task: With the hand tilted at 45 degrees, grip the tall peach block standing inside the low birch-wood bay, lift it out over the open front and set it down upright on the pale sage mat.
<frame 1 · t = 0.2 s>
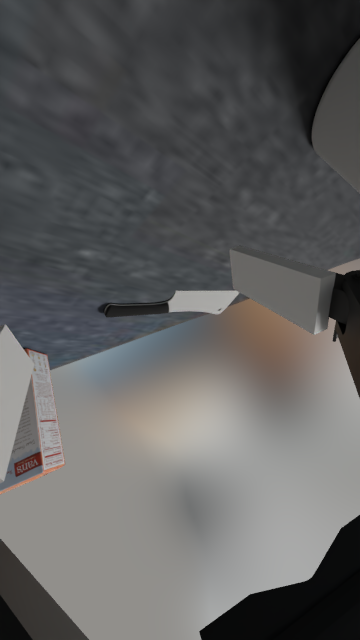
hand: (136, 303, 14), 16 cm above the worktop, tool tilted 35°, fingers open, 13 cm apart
cracker box: (6, 364, 45), on the worktop
kitchen cleaver: (180, 297, 49), on the worktop
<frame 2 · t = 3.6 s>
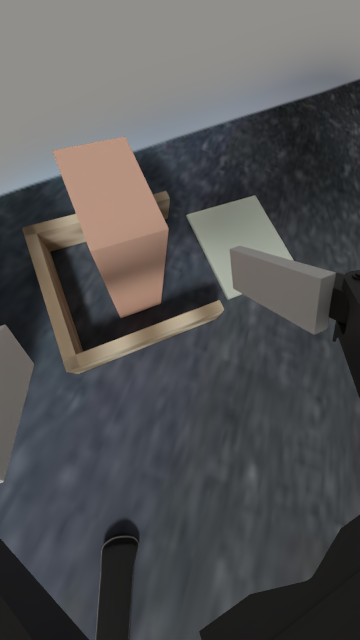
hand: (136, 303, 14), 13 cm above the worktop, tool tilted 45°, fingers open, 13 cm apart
birch bay: (129, 281, 28), on the worktop
sage mat: (241, 244, 32), on the worktop
peach block: (122, 249, 22), in the birch bay
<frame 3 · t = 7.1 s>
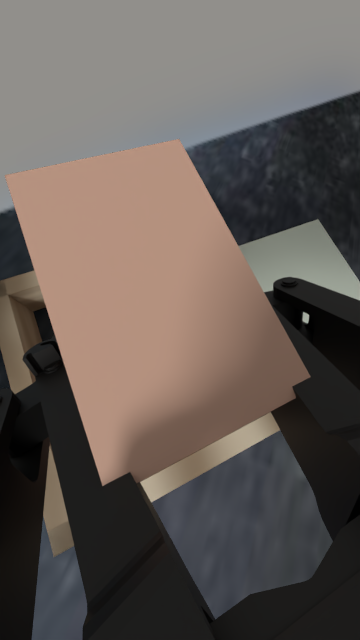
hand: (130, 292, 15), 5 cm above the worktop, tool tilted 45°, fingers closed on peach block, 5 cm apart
birch bay: (151, 355, 19), on the worktop
sage mat: (306, 290, 23), on the worktop
peach block: (151, 336, 12), in the birch bay, touching gripper
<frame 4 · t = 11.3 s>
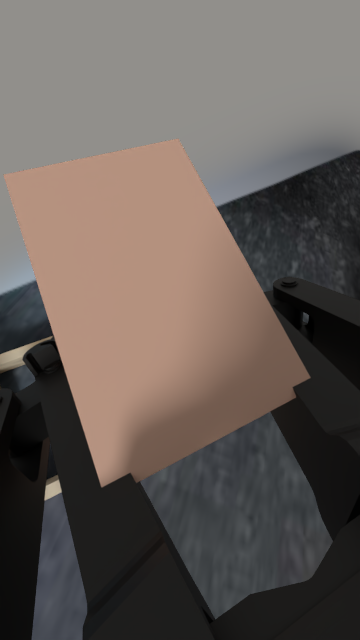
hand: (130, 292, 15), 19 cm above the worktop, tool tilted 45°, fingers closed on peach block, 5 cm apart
birch bay: (74, 402, 30), on the worktop
peach block: (151, 336, 12), point 21 cm above the worktop, touching gripper
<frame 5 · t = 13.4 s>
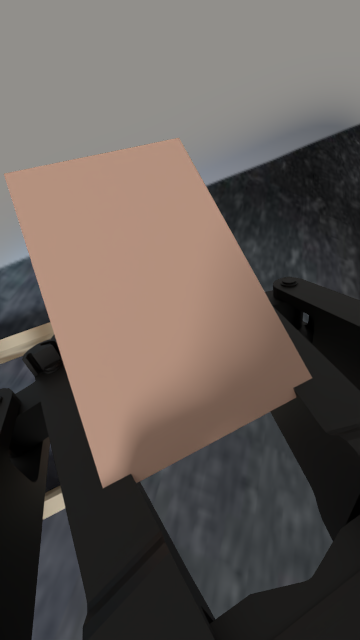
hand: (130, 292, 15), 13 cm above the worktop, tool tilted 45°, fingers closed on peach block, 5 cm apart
birch bay: (18, 425, 24), on the worktop
peach block: (151, 336, 12), point 16 cm above the worktop, touching gripper
when the fingers open (7 cm above the worktop, at t = 15.6 s): peach block drops 1 cm, resting on sage mat.
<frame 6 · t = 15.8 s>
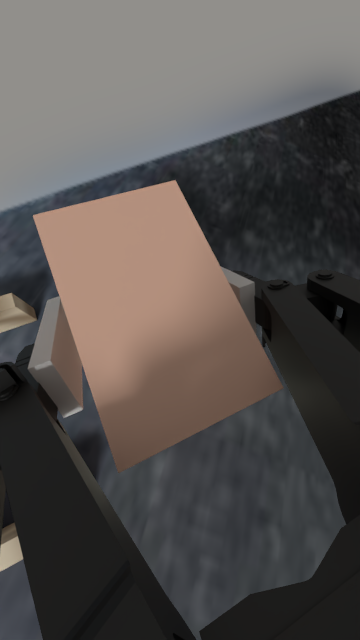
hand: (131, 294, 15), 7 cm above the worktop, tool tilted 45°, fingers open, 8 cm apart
peach block: (152, 342, 14), on the sage mat
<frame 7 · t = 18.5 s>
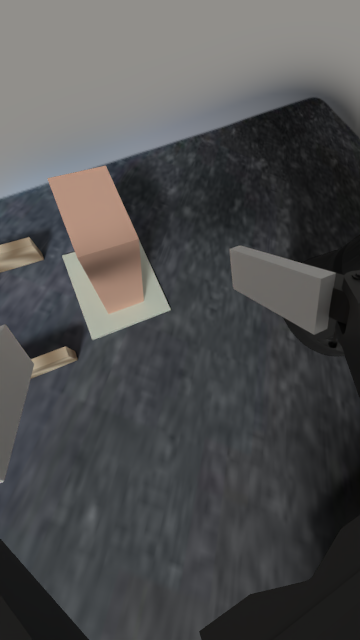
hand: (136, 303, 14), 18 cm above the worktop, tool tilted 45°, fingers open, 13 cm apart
sage mat: (116, 283, 33), on the worktop
peach block: (107, 254, 26), on the sage mat
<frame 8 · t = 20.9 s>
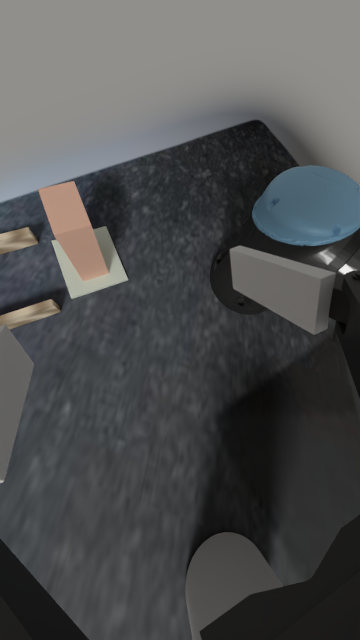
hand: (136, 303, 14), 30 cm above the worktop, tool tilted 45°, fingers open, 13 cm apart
cylinder vase: (226, 579, 34), on the worktop
birch bay: (3, 287, 43), on the worktop
sage mat: (90, 261, 46), on the worktop
peach block: (79, 238, 39), on the sage mat
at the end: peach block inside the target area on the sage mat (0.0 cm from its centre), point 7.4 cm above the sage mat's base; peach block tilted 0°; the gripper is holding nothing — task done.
